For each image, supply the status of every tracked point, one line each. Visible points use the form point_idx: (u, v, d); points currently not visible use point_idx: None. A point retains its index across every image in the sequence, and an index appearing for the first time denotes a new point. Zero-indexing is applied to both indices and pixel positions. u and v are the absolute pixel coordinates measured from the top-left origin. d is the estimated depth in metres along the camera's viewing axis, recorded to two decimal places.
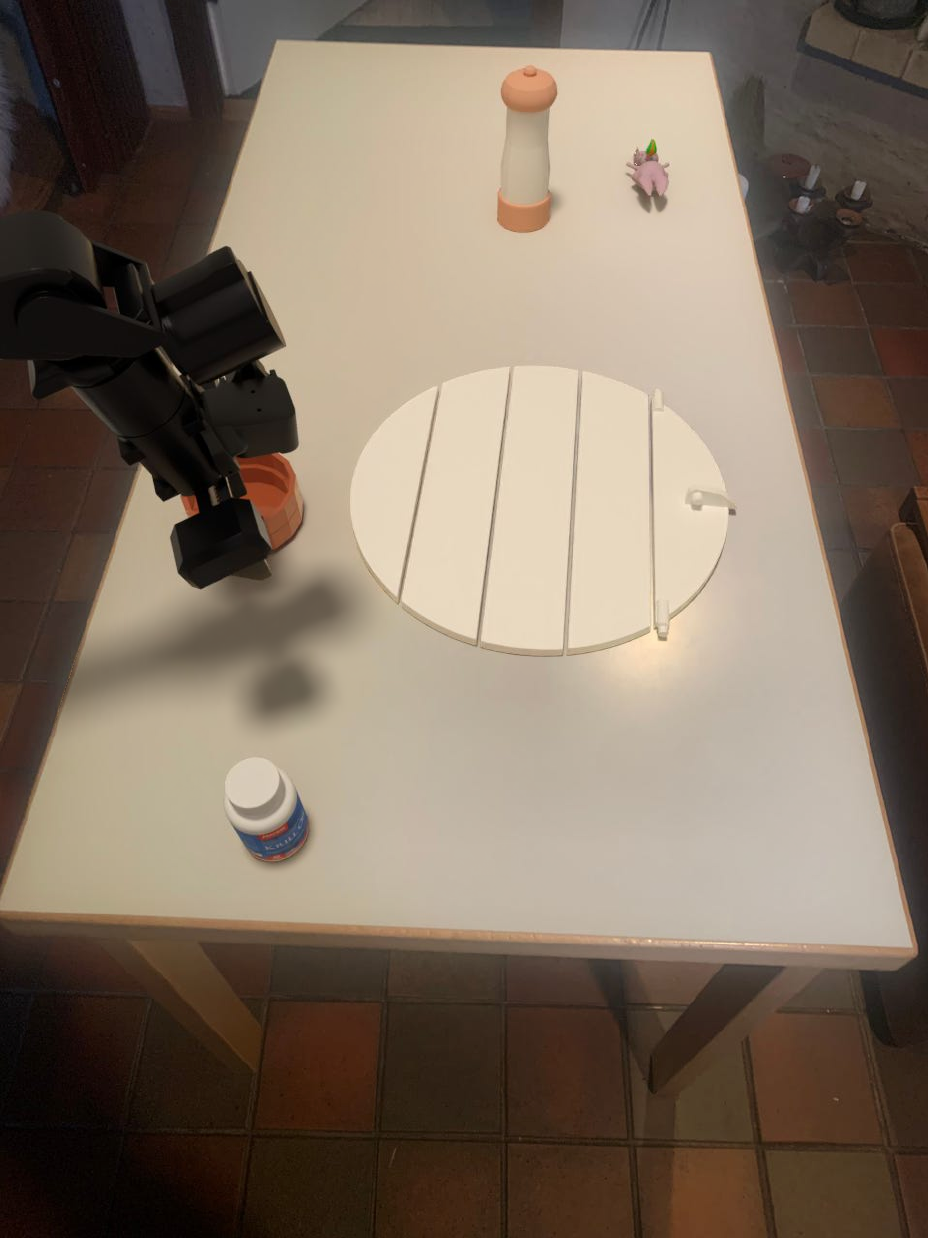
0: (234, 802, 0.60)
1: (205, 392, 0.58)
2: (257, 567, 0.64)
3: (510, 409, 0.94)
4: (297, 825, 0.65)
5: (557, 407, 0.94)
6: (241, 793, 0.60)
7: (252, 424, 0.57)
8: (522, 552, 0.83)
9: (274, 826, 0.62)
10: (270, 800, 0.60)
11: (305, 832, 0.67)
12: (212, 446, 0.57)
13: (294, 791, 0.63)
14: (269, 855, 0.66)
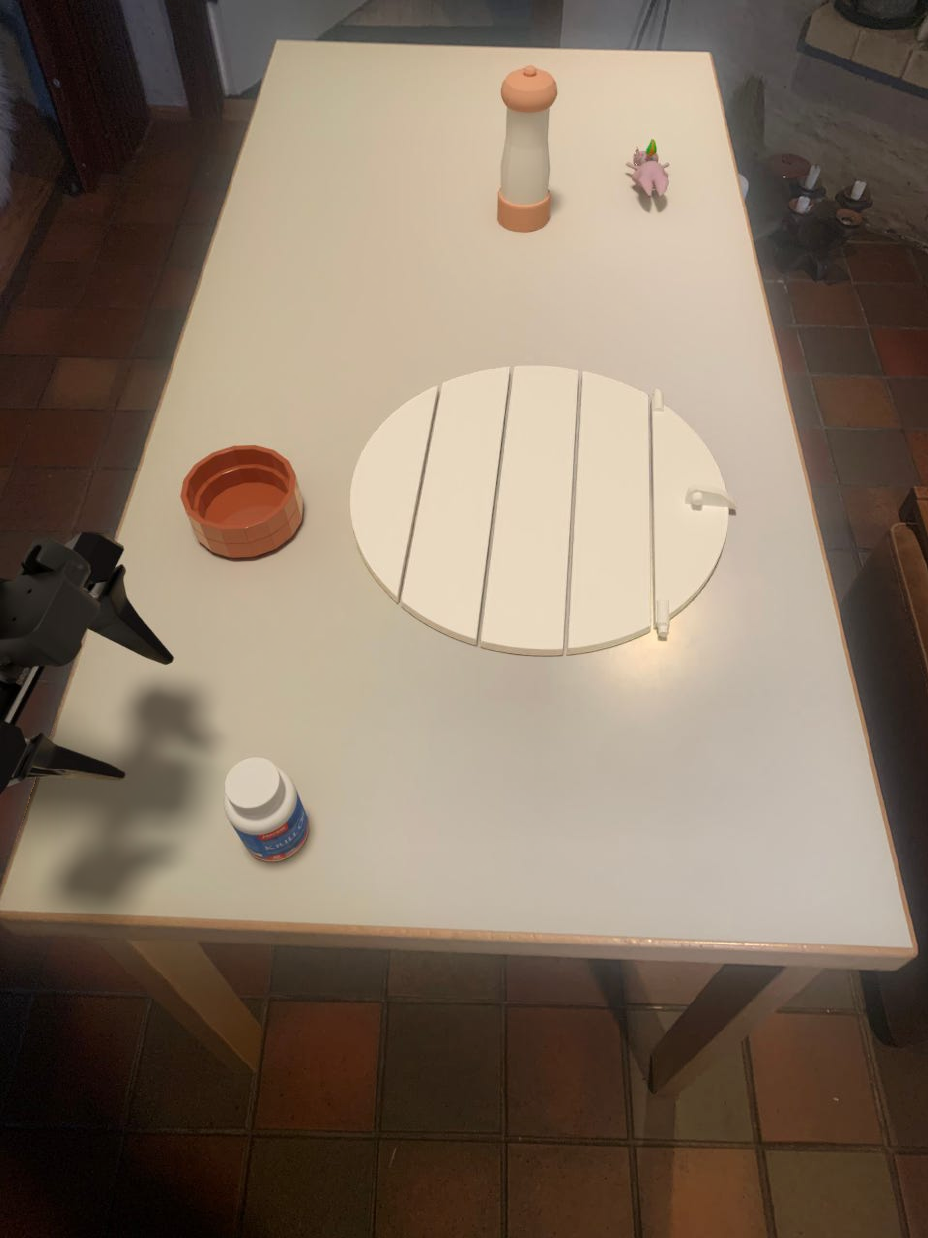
0: (234, 802, 0.60)
1: None
2: (85, 774, 0.55)
3: (510, 409, 0.94)
4: (297, 825, 0.65)
5: (557, 407, 0.94)
6: (241, 793, 0.60)
7: None
8: (522, 552, 0.83)
9: (274, 826, 0.62)
10: (270, 800, 0.60)
11: (305, 832, 0.67)
12: None
13: (294, 791, 0.63)
14: (269, 855, 0.66)
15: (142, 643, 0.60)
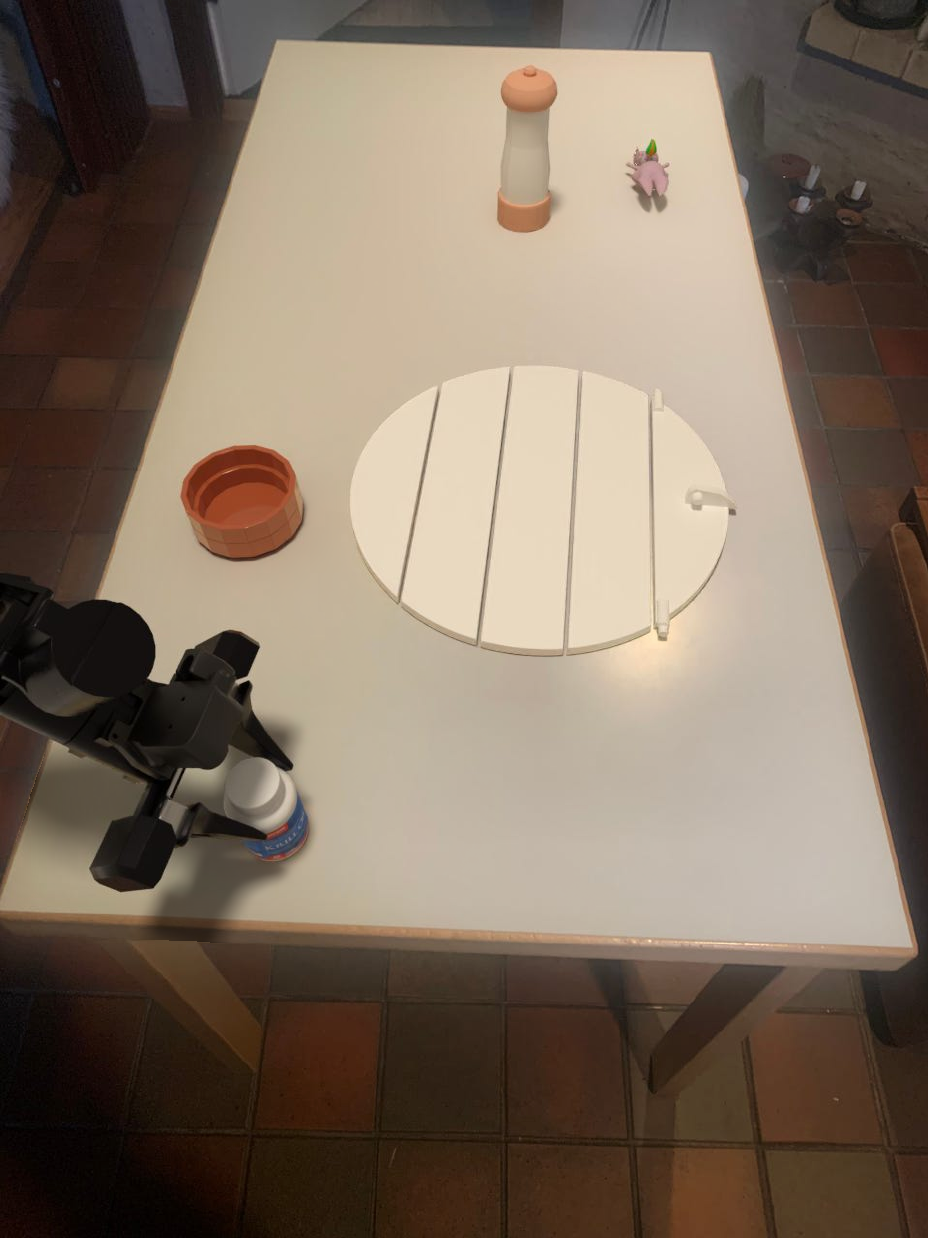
0: (234, 802, 0.60)
1: (152, 691, 0.55)
2: (233, 837, 0.60)
3: (510, 409, 0.94)
4: (297, 825, 0.65)
5: (557, 407, 0.94)
6: (241, 793, 0.60)
7: (152, 746, 0.52)
8: (522, 552, 0.83)
9: (275, 826, 0.62)
10: (270, 801, 0.60)
11: (305, 832, 0.67)
12: (127, 758, 0.54)
13: (294, 791, 0.63)
14: (269, 855, 0.66)
15: (265, 753, 0.63)
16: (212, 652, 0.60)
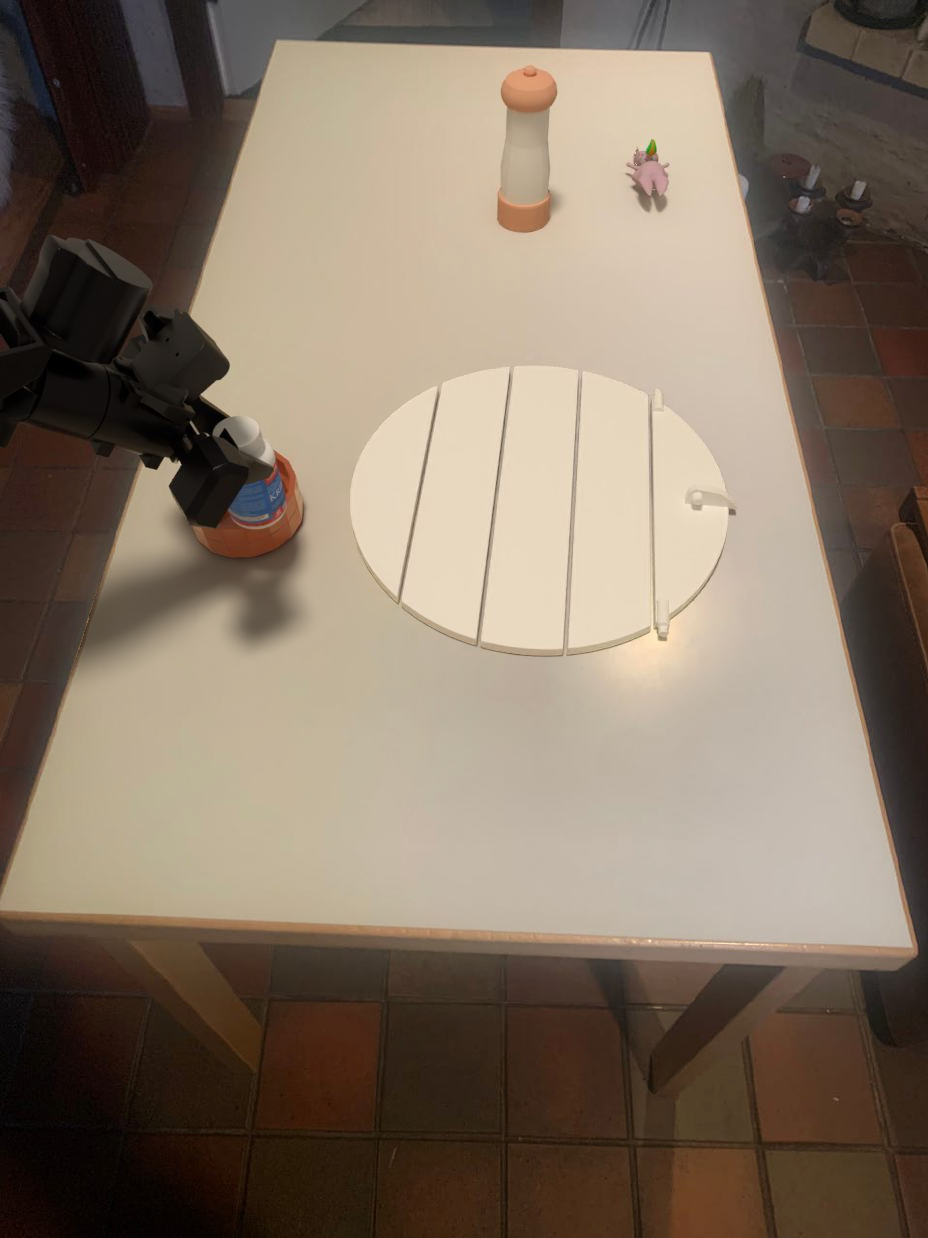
0: None
1: (133, 362, 0.63)
2: (254, 469, 0.70)
3: (510, 409, 0.94)
4: None
5: (557, 407, 0.94)
6: (235, 439, 0.71)
7: (176, 371, 0.61)
8: (522, 552, 0.83)
9: (271, 460, 0.73)
10: (260, 432, 0.71)
11: None
12: (157, 407, 0.62)
13: (263, 438, 0.75)
14: (273, 510, 0.77)
15: None
16: (137, 352, 0.69)
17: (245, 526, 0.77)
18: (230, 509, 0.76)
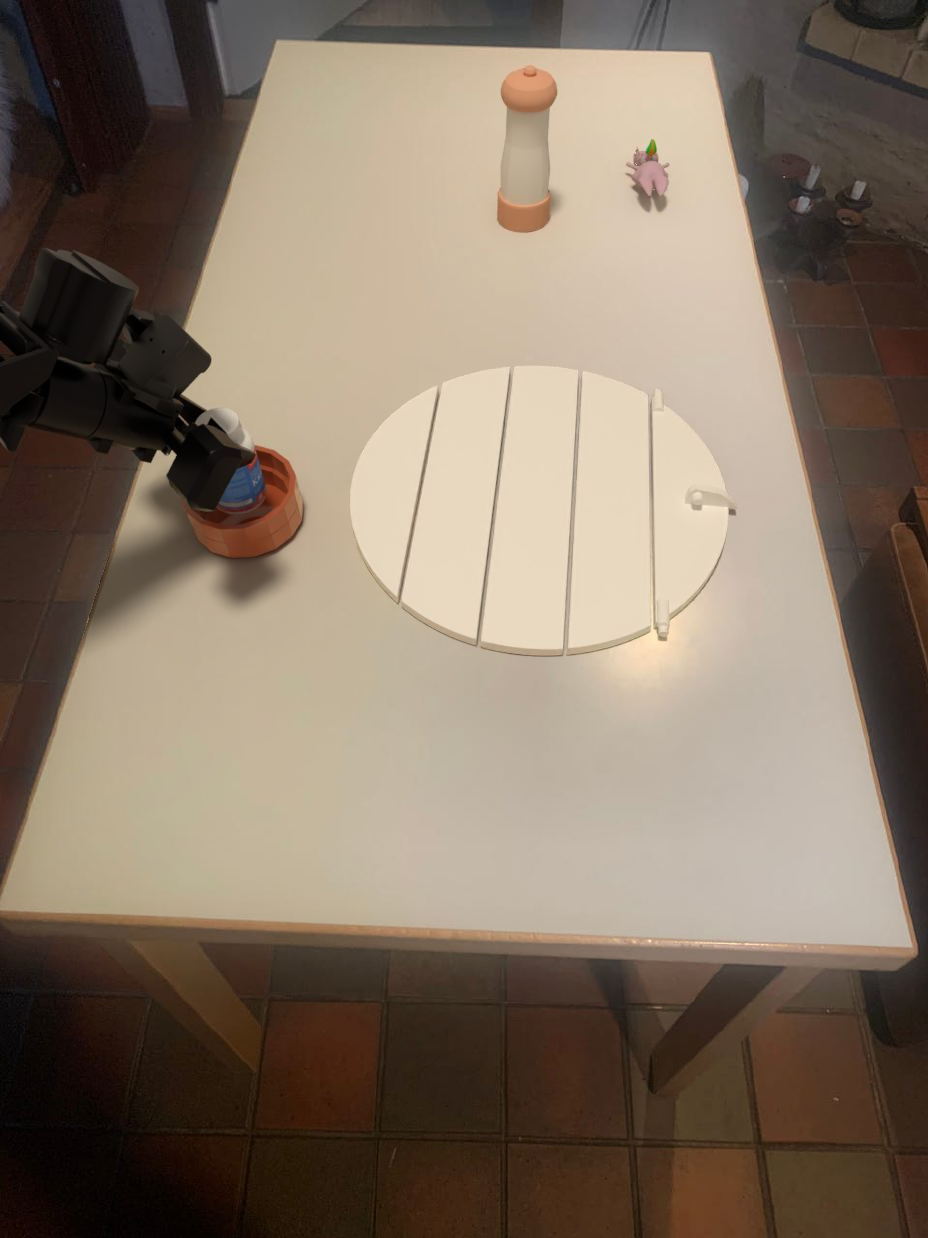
0: None
1: (120, 363, 0.68)
2: None
3: (510, 409, 0.94)
4: None
5: (557, 407, 0.94)
6: None
7: (165, 366, 0.66)
8: (522, 552, 0.83)
9: (252, 446, 0.78)
10: (239, 421, 0.77)
11: None
12: (149, 402, 0.67)
13: None
14: (256, 494, 0.82)
15: None
16: (116, 356, 0.73)
17: (231, 512, 0.82)
18: None
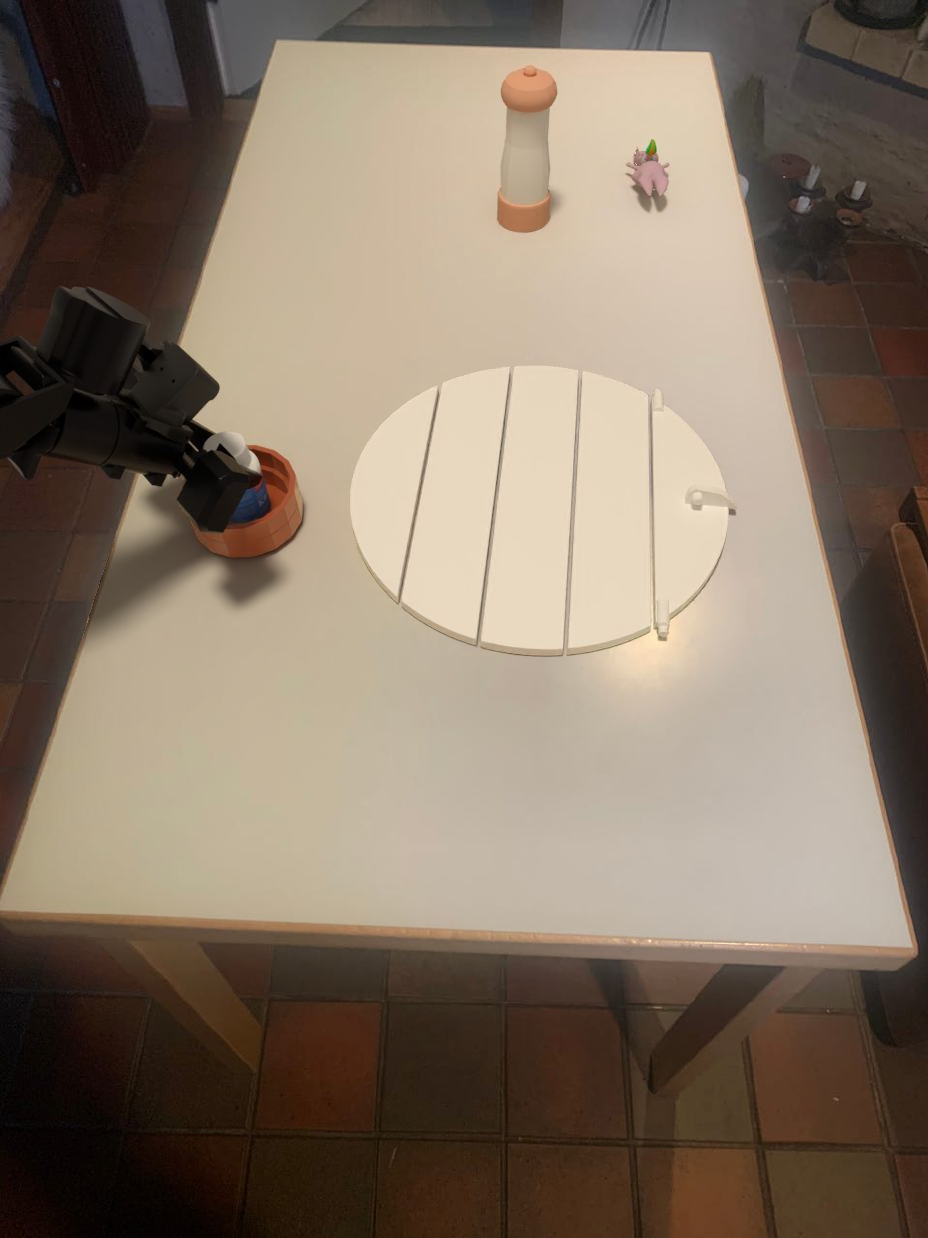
0: None
1: (131, 392, 0.70)
2: None
3: (510, 409, 0.94)
4: None
5: (557, 407, 0.94)
6: None
7: (175, 395, 0.69)
8: (522, 552, 0.83)
9: (258, 468, 0.81)
10: (246, 444, 0.79)
11: None
12: (160, 429, 0.69)
13: None
14: (262, 514, 0.84)
15: None
16: (127, 383, 0.76)
17: None
18: None
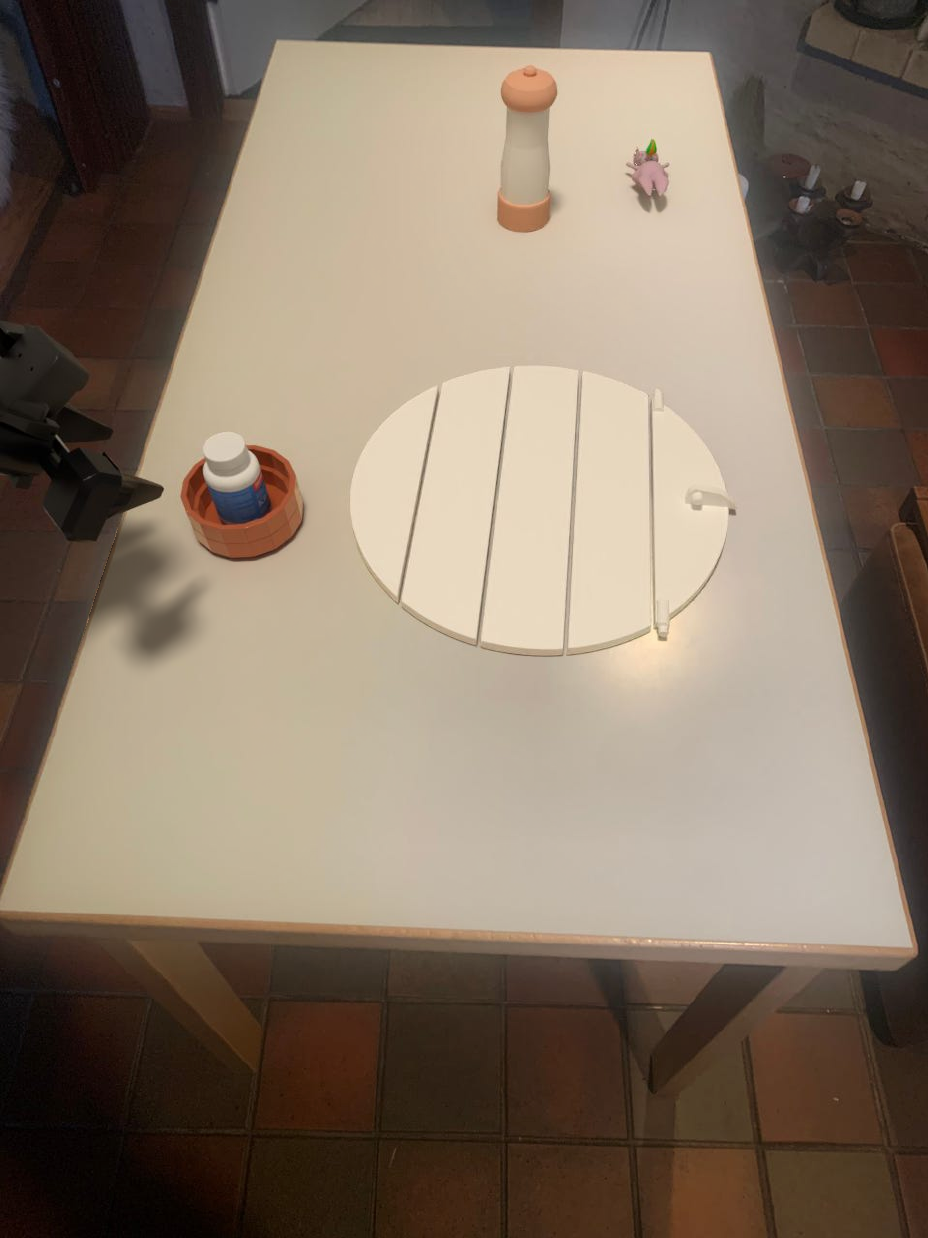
0: (227, 459, 0.78)
1: None
2: (142, 491, 0.69)
3: (510, 409, 0.94)
4: (263, 479, 0.84)
5: (557, 407, 0.94)
6: (225, 453, 0.78)
7: (32, 385, 0.60)
8: (522, 552, 0.83)
9: (257, 469, 0.81)
10: (245, 445, 0.79)
11: None
12: (17, 424, 0.61)
13: None
14: (262, 514, 0.84)
15: (86, 423, 0.73)
16: None
17: None
18: (222, 518, 0.84)
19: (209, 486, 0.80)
